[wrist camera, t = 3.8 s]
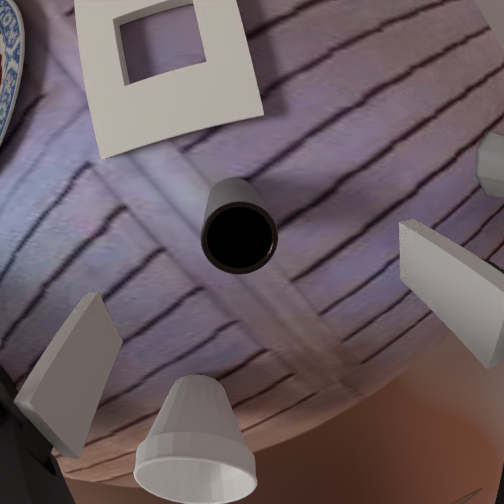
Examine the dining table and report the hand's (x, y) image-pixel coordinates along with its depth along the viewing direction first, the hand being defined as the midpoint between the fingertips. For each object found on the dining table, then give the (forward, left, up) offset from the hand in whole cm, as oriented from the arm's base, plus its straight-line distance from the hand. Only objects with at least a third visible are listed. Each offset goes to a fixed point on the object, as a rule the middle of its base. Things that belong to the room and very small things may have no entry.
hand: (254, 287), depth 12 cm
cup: (-22, +10, -17) cm, 29 cm away
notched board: (+16, +3, -16) cm, 23 cm away
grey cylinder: (0, 0, -17) cm, 17 cm away
